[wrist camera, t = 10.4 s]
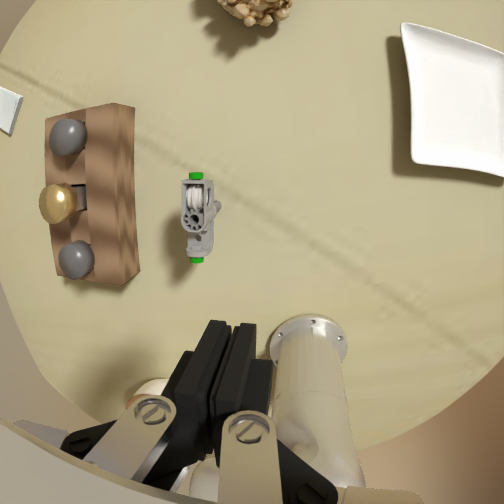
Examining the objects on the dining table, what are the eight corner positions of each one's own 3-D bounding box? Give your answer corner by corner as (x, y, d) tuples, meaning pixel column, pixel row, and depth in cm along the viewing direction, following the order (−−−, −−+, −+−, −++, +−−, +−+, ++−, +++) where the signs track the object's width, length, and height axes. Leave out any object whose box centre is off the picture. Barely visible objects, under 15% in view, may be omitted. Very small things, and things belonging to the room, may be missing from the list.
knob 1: (106, 151, 40) (73, 153, 33) (81, 154, 41) (48, 157, 34) (106, 119, 39) (74, 115, 31) (81, 123, 39) (49, 122, 32)
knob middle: (98, 212, 41) (65, 224, 33) (74, 212, 41) (41, 223, 34) (96, 177, 39) (62, 184, 32) (72, 179, 40) (37, 186, 32)
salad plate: (500, 58, 28) (510, 54, 24) (508, 178, 34) (520, 180, 31) (392, 27, 31) (398, 19, 27) (402, 163, 37) (411, 164, 34)
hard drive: (20, 96, 39) (-4, 85, 39) (8, 134, 42) (-15, 119, 41) (25, 97, 41) (1, 86, 40) (14, 134, 43) (-10, 119, 43)
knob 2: (113, 263, 46) (85, 281, 39) (89, 260, 47) (61, 277, 39) (109, 232, 44) (80, 246, 37) (85, 231, 45) (56, 244, 38)
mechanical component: (205, 239, 44) (182, 262, 34) (206, 169, 41) (180, 173, 31) (225, 241, 44) (206, 265, 34) (226, 169, 40) (206, 173, 31)
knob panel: (140, 270, 47) (122, 285, 41) (77, 263, 49) (57, 275, 43) (135, 107, 39) (113, 102, 33) (68, 120, 41) (45, 118, 35)
